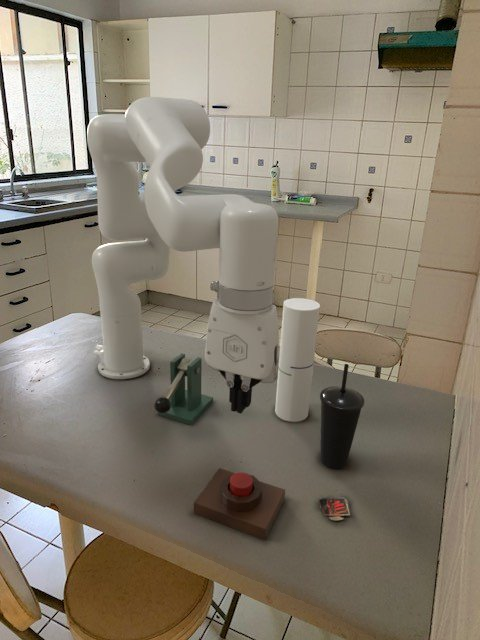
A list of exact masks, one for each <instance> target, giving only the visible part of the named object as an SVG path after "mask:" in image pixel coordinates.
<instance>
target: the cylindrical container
mask: <svg viewBox="0 0 480 640" xmlns="http://www.w3.org/2000/svg"><path fill="white" fill-rule="evenodd" d="M282 306H283V307H282V317H281V329H280V333H281V334H280V341H279V356H278V371H277V383H276V394H275V395H276V396H275V406H274V407H275V408H274V413H275V415H276V416H277V418H279V419H281V420H282V421H286V422H293V423H297V422H303V421H305V420H306V419H307V418H308V417H309V409H310V401H311V400H310V399H311V393H312V392H311V390H312V381H313V375H314V374H313V373H314V366H315V365H314V364H315V363H314V362H315V356H316V345H317V338H318V337H317V336H318V328H319V319H320V310H321V309H320V308H321V305H320V303H319V302H318V301H316V300H313V299H309V298H305V297H303V298H302V297H293V298H287V299H285V300H284V301H283V305H282Z"/></svg>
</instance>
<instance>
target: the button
mask: <svg viewBox="0 0 480 640" xmlns="http://www.w3.org/2000/svg"><path fill="white" fill-rule="evenodd" d="M234 473H235V474H234V475H232V476H231V478H230V491H231V493H232V494H233V495H235V496H238V497H244V496H248V495H249V494H251V492H252V488H253V479H252V477H251V476H250V475H251V474H250V473H247V472H234Z"/></svg>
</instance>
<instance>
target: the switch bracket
mask: <svg viewBox="0 0 480 640" xmlns="http://www.w3.org/2000/svg"><path fill="white" fill-rule="evenodd" d="M183 358H186V354H185V353H182V352H181V353H179V354H178V355H177V356H175V357H174V358H172V359H171V360H170V361H169V369H170V371H169V374H170V376H169V377H170V385H171V384H172V383H173V381H174V380H175V378H176V376H177V375H178V373H179V371H178V368H177V367H178V366H179V364H180V362H181V361H182V359H183ZM186 387H187V388H186ZM170 402H171V408H170V410H169V411H168V412H167V413H164V414H161V413H158V412H157V416H159V417H163V418H166V419H170V420H173V421H176V422H180V423H183V424H186V425H190V426H192V425H193V424H194V423H195V422H196V421H197V420H198V419H199V418H200V416H201V415H202V414H203V413H204V412H205V411H206V410H207V409H208V408H209V407H210V406H211V405H212V404H213V403H214V396H210V395H206V394H203V393H202V358H201V357H199V356H197V357H196V358H195V359H193V361H192V362H191V363H190V364H189V365H187V377H186V376H184V378H183V380H182V381H181V383H180V385H179V386H178V388H177V390H176V391H175V393H174V395H173V396H172V398H171V400H170Z"/></svg>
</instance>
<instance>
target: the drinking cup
mask: <svg viewBox="0 0 480 640" xmlns="http://www.w3.org/2000/svg"><path fill="white" fill-rule="evenodd" d="M343 366H344V367H343V374H342V382H341V386H339V385H338V386H337V385H336V386H335V385H334V386H328V387H325V388H323V389H322V390H321V391H320V393H319V400H320V446H319V447H320V448H319V449H320V452H319V456H320V458H319V459H320V462H321V464H322V465H323V466H325V468H328V469H331V470H342V469H344V468H345V467H347V463H348V460H349V456H350V453H351V448H352V444H353V442H354V439H355V438H354V437H355V433H356V429H357V426H358V422H359V419H360V415H361V412H362V408H363V407H364V406H365V402H366V401H365V398H364V396H363V394H361V393H360V392H359V391H357V390H355V389H354V388H353V389H352V388H351V387H347V386H346V385H347V380H348V372H349V366H350V365H349V364H348V363H344V365H343Z"/></svg>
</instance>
